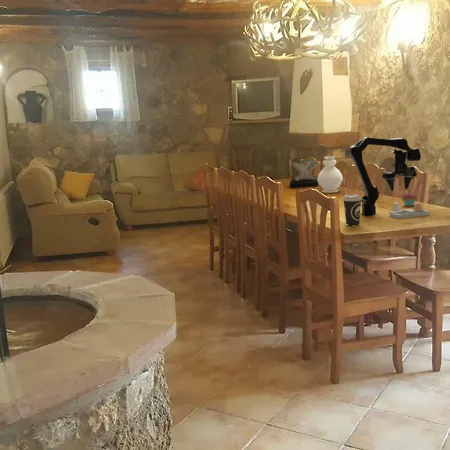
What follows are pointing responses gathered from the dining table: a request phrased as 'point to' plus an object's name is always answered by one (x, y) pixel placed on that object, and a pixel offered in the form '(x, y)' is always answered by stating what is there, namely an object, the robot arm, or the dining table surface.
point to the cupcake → (409, 199)
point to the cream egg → (396, 207)
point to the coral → (304, 174)
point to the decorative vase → (330, 176)
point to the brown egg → (418, 207)
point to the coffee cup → (352, 208)
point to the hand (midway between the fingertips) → (399, 190)
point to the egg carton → (408, 213)
